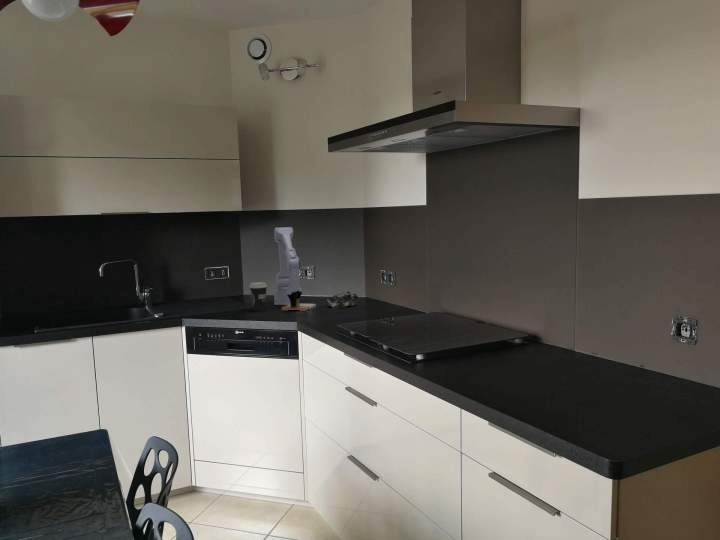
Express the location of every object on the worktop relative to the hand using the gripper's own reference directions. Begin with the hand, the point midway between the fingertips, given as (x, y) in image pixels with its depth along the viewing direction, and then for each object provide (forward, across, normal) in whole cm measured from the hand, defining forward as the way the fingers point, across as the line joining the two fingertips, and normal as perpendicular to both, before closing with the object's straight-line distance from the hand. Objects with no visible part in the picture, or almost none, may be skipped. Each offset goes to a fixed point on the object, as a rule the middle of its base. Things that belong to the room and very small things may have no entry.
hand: (295, 305), depth 306 cm
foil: (+3, +15, -21) cm, 26 cm away
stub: (+2, +1, 0) cm, 2 cm away
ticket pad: (+2, +8, 0) cm, 8 cm away
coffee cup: (+2, -5, +19) cm, 20 cm away
